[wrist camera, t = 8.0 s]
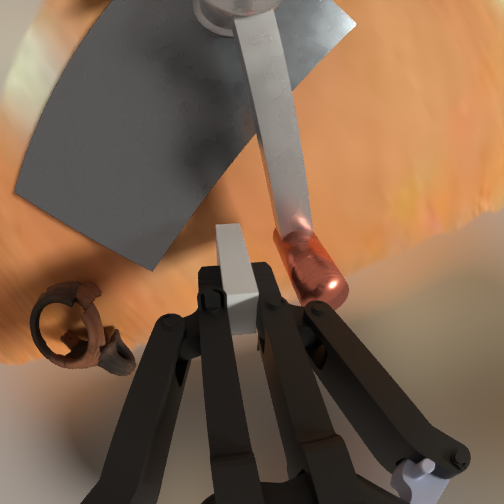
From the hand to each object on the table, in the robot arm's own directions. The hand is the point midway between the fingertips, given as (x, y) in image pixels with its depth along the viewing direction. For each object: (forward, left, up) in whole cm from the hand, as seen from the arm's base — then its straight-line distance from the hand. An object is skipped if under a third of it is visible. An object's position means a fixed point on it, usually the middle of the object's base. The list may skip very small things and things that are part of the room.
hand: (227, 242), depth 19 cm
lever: (-9, -4, -3) cm, 10 cm away
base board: (-5, -9, -6) cm, 12 cm away
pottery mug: (+18, -5, -6) cm, 19 cm away
